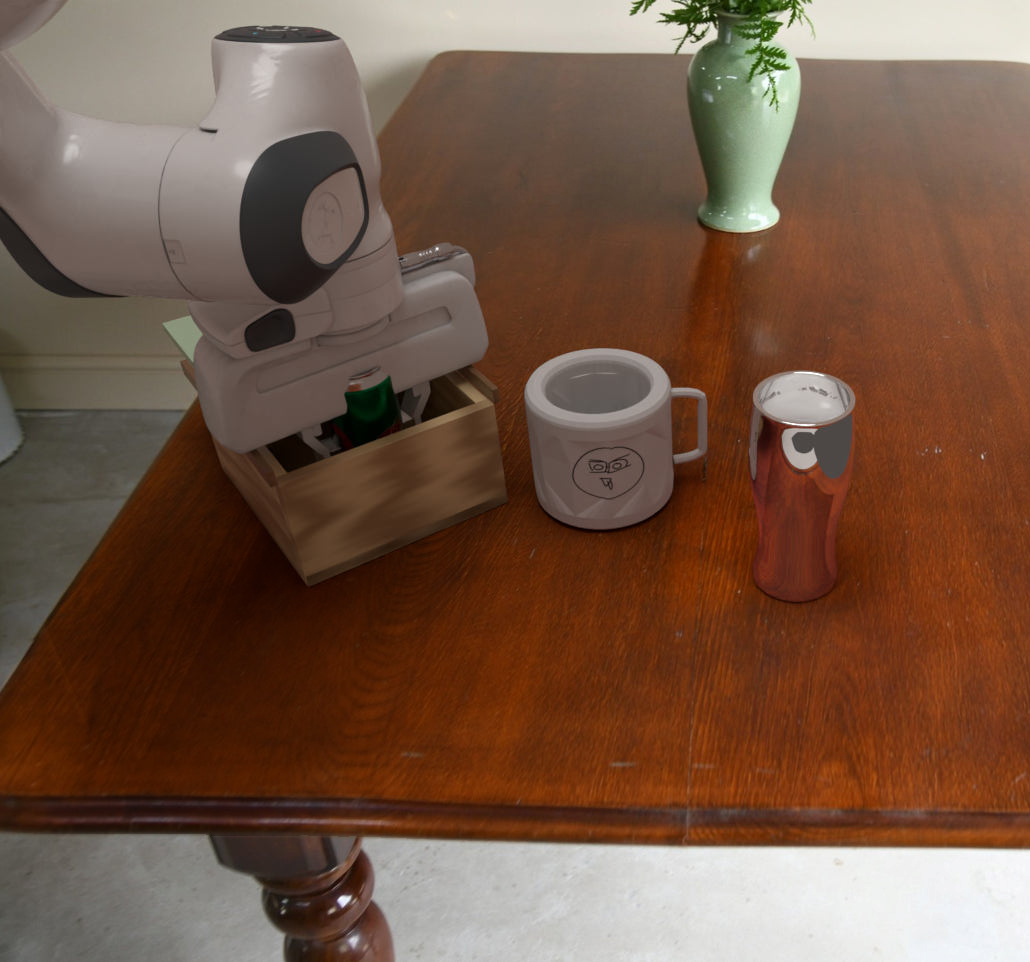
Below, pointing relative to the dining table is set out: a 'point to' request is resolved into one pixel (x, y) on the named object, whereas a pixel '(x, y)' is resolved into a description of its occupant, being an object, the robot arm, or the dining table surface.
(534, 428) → the mug
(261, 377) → the robot arm
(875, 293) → the dining table surface
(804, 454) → the beer glass
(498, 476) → the box
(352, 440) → the soda can
